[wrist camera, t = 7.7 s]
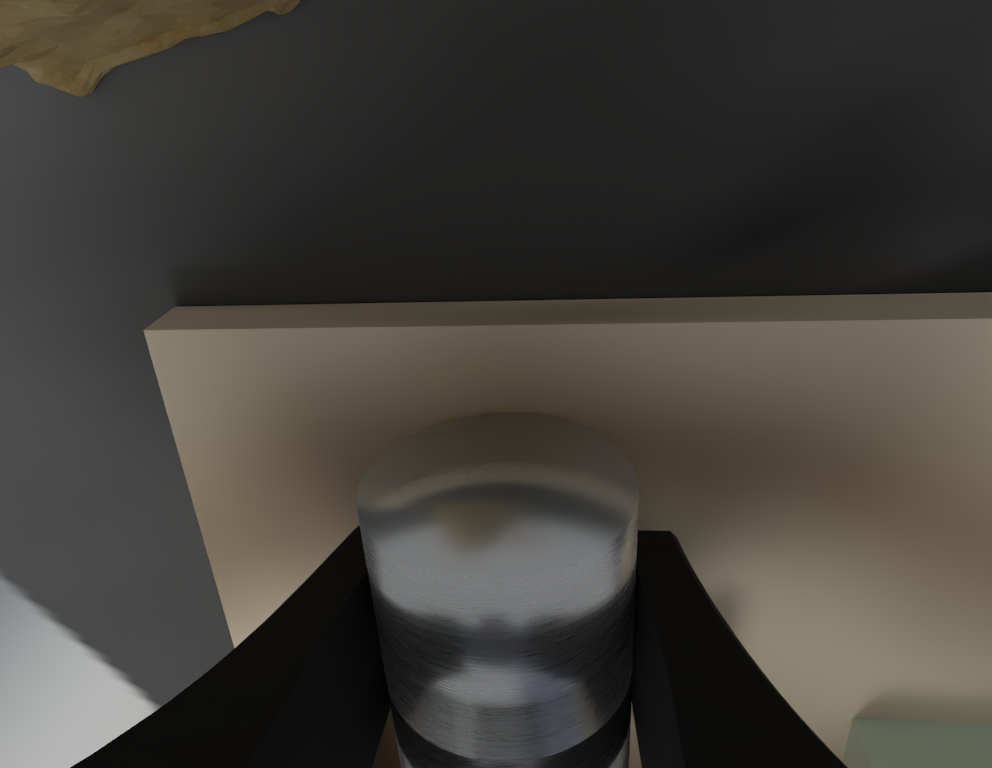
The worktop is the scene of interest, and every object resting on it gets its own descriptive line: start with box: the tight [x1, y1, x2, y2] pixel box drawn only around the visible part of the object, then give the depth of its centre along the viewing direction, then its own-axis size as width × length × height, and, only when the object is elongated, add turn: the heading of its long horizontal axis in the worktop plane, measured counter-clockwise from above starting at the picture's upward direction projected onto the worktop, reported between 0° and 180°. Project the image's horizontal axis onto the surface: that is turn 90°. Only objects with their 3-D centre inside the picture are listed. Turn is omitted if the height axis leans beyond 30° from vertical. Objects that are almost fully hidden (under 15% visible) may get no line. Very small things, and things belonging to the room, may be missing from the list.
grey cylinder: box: [356, 413, 639, 768], centre depth 11 cm, size 7×4×4 cm, turn 3°
